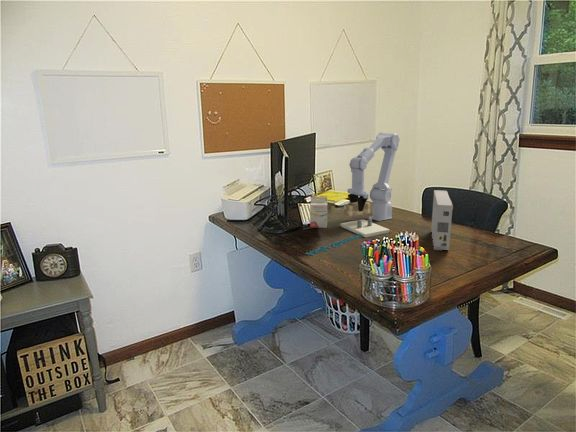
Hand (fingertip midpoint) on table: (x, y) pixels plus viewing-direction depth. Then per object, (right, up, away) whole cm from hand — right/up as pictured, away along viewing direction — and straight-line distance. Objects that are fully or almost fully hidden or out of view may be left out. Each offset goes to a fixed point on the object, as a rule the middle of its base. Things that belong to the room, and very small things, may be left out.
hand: (357, 209), depth 205 cm
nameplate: (-12, -16, -22) cm, 30 cm away
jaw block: (0, -2, +1) cm, 2 cm away
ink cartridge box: (-19, -8, +4) cm, 21 cm away
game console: (+32, -14, -22) cm, 42 cm away
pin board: (+3, -9, -3) cm, 10 cm away
